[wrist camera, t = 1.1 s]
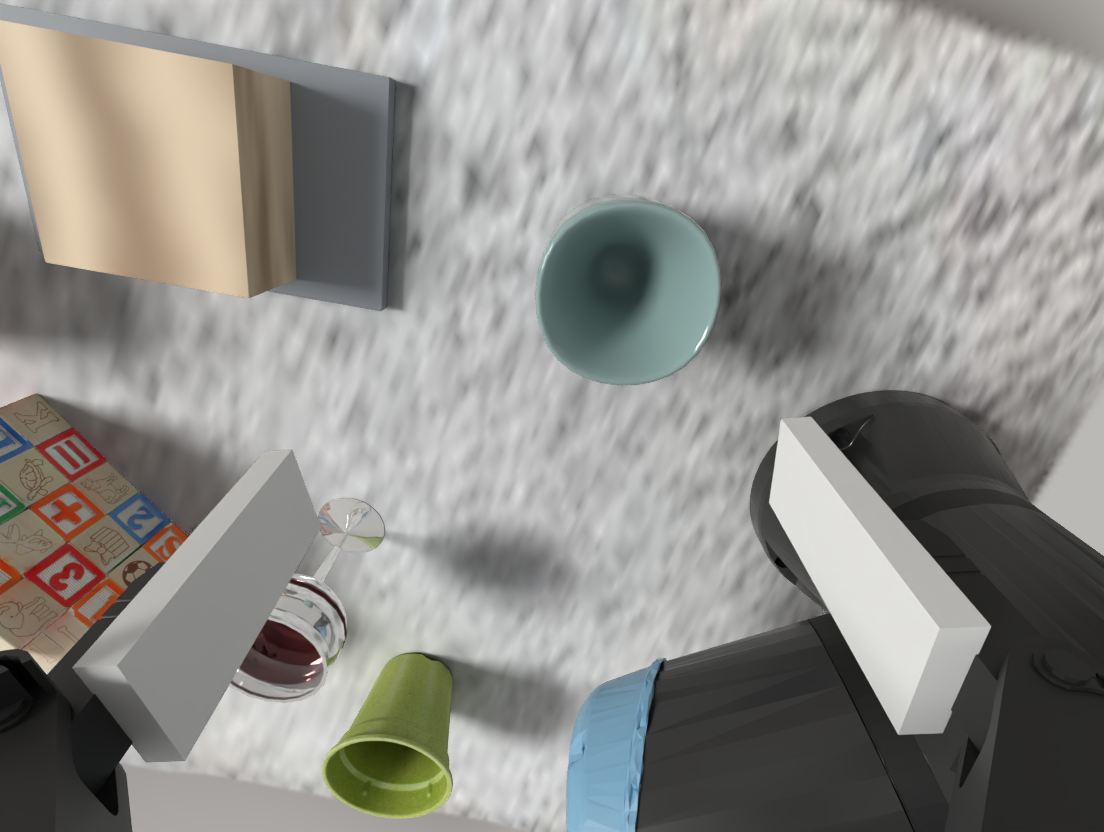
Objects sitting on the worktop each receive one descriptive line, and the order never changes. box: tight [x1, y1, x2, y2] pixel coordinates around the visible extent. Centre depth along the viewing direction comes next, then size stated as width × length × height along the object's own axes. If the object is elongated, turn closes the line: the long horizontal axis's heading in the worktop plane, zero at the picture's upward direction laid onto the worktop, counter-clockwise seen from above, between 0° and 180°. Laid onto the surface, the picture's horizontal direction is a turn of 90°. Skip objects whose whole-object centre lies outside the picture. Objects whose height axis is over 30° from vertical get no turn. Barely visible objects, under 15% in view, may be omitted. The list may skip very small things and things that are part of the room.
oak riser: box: [0, 20, 296, 298], centre depth 27 cm, size 10×10×5 cm
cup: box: [535, 194, 721, 385], centre depth 27 cm, size 8×8×10 cm
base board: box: [0, 3, 395, 311], centre depth 29 cm, size 20×12×1 cm, turn 80°
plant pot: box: [322, 654, 453, 818], centre depth 42 cm, size 9×9×9 cm
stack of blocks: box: [0, 394, 188, 674], centre depth 35 cm, size 21×6×12 cm, turn 32°
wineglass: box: [229, 498, 385, 703], centre depth 34 cm, size 7×7×12 cm
